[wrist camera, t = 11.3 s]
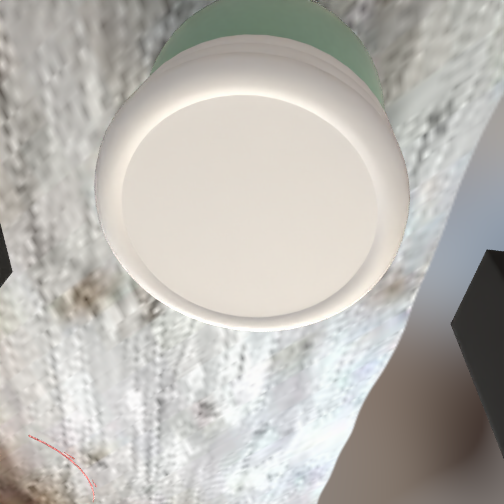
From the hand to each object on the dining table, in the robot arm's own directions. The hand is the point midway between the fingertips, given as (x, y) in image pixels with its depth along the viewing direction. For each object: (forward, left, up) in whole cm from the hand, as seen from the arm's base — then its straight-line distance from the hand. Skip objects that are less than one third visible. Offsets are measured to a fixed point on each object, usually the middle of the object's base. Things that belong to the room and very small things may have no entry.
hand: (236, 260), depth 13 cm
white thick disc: (0, 0, -6) cm, 6 cm away
